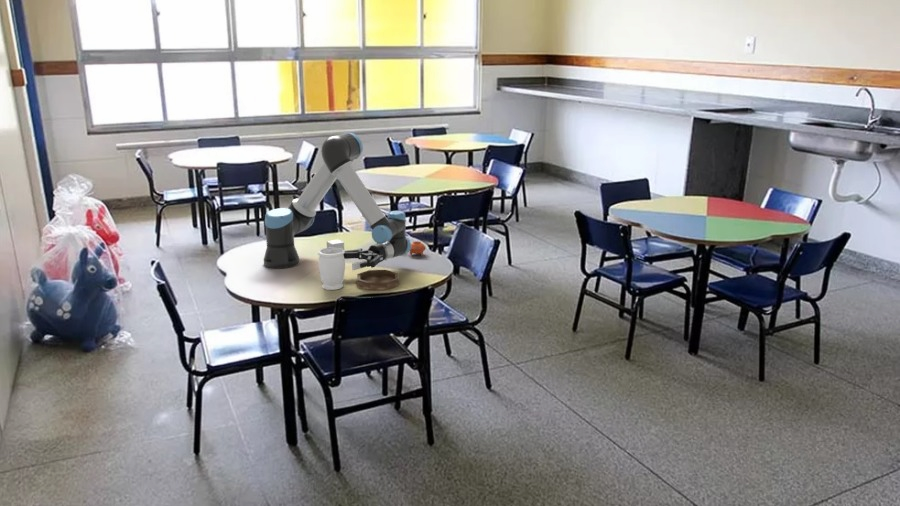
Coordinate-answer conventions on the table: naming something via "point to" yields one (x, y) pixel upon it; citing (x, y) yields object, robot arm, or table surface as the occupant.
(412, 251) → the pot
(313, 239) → the table surface
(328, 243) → the white cube
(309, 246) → the table surface
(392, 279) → the tray
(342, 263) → the jar
